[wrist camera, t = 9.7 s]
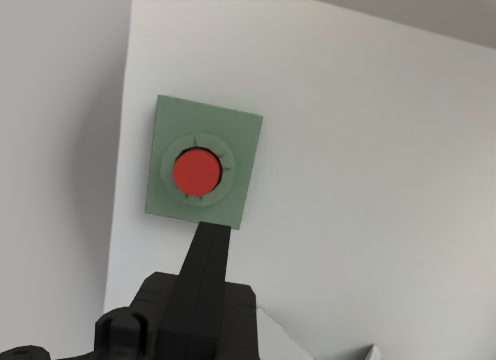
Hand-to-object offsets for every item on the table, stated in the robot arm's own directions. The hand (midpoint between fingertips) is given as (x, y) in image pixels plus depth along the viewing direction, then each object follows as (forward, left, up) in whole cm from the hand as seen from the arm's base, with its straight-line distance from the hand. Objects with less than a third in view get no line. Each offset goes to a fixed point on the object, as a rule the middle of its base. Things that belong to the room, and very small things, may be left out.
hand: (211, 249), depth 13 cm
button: (+2, -2, -13) cm, 14 cm away
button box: (+2, -2, -17) cm, 17 cm away
